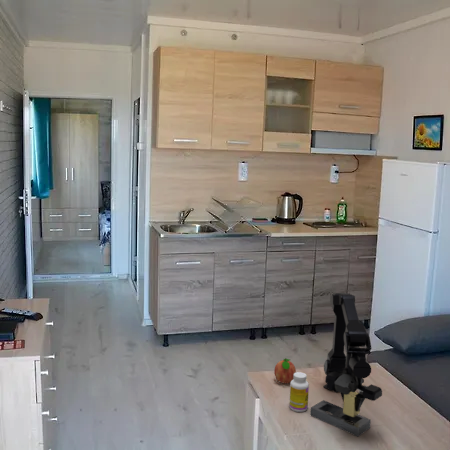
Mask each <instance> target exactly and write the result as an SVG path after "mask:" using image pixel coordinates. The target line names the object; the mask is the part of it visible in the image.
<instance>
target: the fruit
mask: <svg viewBox="0 0 450 450" xmlns="http://www.w3.org/2000/svg"><path fill="white" fill-rule="evenodd" d="M273 370H274V372H273V373H274V376H275V379H276V381H278V382H279V383H282V384H290V383H291V381H292V380H293V379H294V378H293V375H294V373H296V372H297V369H296V367H295V365H294V363H293V362H292V361H291V359H289V358H286V357H285V358H283V360H280V361H278V362H277V363H276V365H275V366H274V369H273Z"/></svg>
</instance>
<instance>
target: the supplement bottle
mask: <svg viewBox="0 0 450 450" xmlns="http://www.w3.org/2000/svg"><path fill="white" fill-rule="evenodd" d="M293 378H294V379H293V380H292V381H291V382H290V383H289V384H290V385H289V403H288V404H289V406H288V407H289V408H290V410H291V411H293V412H296V413H304V412H306V411H307V410H308V408H309V407H308V406H309V389H310V386H309V385H310V384H309V382H308V381H307V378H308V377H307V374H306V373H304V372H301V371H298V372H297V371H296V373H294V375H293Z"/></svg>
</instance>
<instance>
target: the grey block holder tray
mask: <svg viewBox="0 0 450 450" xmlns="http://www.w3.org/2000/svg"><path fill="white" fill-rule="evenodd" d="M309 412H310V413H309V415H311V416H310V417H313V418H314V419H317V420H319V421H322V422H324V423H327V424H329V425H331V426H334V427H335V428H338V429H340V430H343V431H345V432H347V433H349V434H351V435H353V436H356V437H360V436H361V435H363V434H364V433H365V432H366V431H368V430H369V429H370V428H371V425H372V424H371V419H370V418H368V417H365V416H363V415H361V414H358V415H356V416H355V417H351V416H349V415H347V414H344V413H343V407H341V406H339V405H337V404H334V403H331V402H329V401H326V400H324V399H323V400H321V401H320V402H317V403H316V404H314V405H313V406H311V407H310V411H309Z"/></svg>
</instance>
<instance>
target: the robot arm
mask: <svg viewBox="0 0 450 450" xmlns="http://www.w3.org/2000/svg"><path fill="white" fill-rule="evenodd" d="M329 304H330V307H331V309H332V312H333V313H334V321H333V335H332V347H331V350H330V351H329V352H328V353H327V358H326V359H325V362H323V371H324V374H325V378H324V379H325V380H324V382H325V383H326V384H325V385H323V388H324V389H326V390H329V391H331V392H333V393H340V397H341V398H342V402H343V404H344V394H345V395H348V394H349V393H350V392H357V391H358V392H357V393H358V394H357V395H355V396H356V398H357V402H356V412H358V411H359V409H360V408H361V407H362V405H363V403H364V402H365V400H369V401H371V402H374V401H376V400H378V399H379V398H381V397H383V390H382V387H380V386H378V385H374V384H371V383H370V384H369V385H364V384H363V383H365V379H366V378H368V377H369V376H370V375H371V372H372V367H371V365H370V363H369V362H368V360H367V357H366V356H367V355H371V350H372V344H371V338H370V334H369V333H368V332H367V329H366V327H365V325H363V324H362V323H361V322H360V319H359V315H358V311H357V308H356V307H357V306H356V295H354V294H352V293H347V292H346V293H345V292H343V293H342V292H334V293H333V294H331V295H330V297H329ZM360 410H361V409H360Z"/></svg>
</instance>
